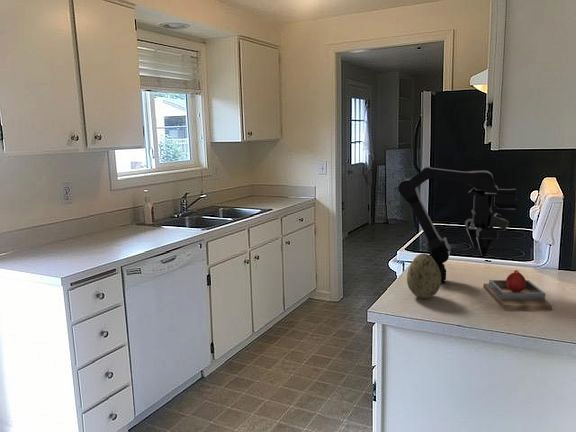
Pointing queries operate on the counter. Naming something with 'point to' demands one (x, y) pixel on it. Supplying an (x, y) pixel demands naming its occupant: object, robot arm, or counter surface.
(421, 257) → the decorative egg
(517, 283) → the onion
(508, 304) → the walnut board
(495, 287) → the square metal frame
